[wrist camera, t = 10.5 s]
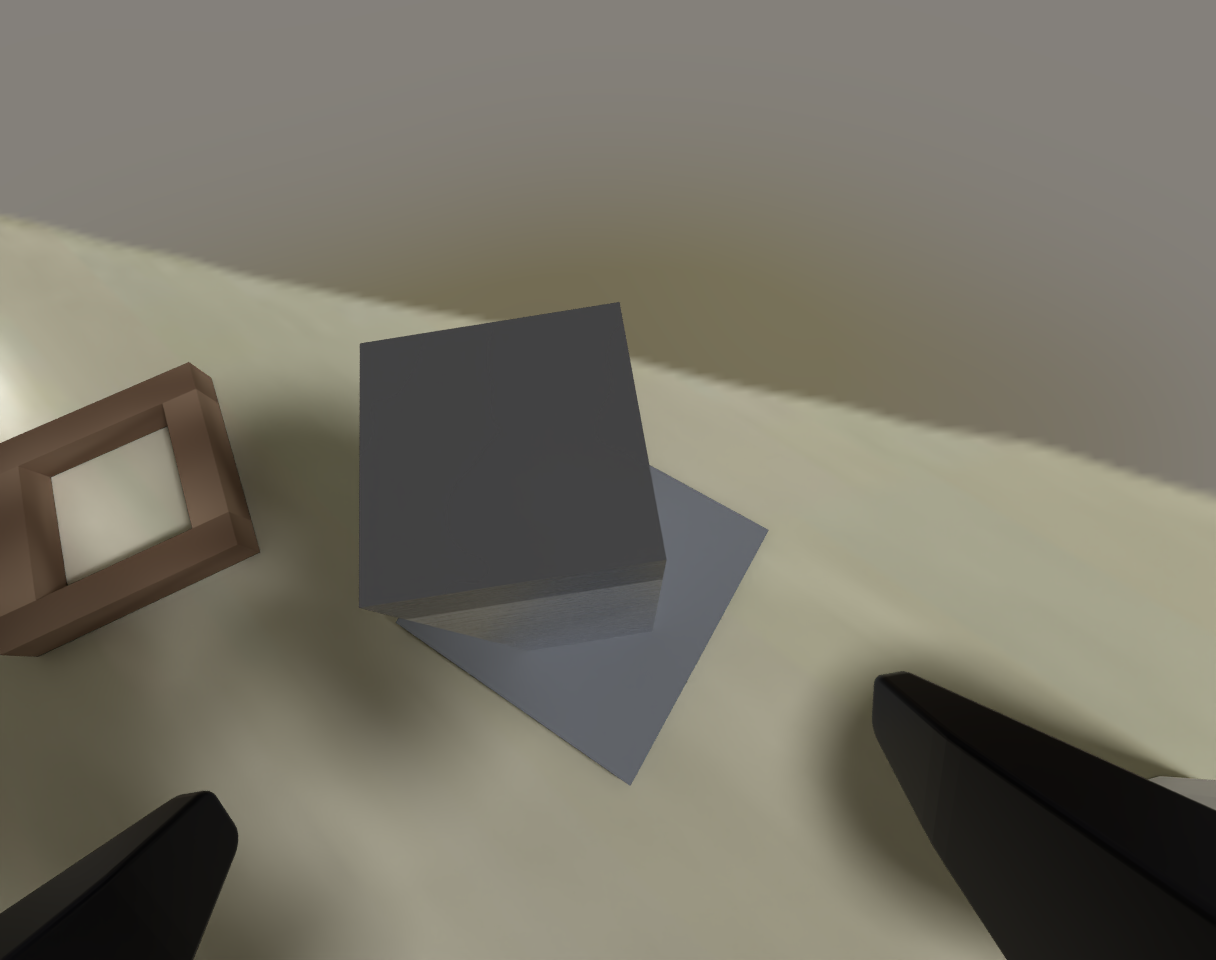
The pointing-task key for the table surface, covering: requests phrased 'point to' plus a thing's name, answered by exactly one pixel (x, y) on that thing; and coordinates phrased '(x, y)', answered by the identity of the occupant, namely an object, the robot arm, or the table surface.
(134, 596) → the socket
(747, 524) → the mat
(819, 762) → the table surface
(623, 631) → the grey tall block
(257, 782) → the table surface
